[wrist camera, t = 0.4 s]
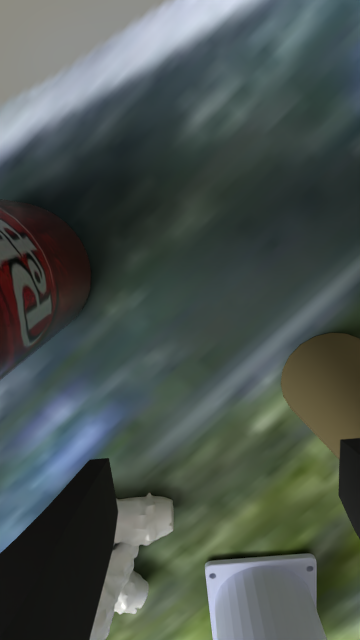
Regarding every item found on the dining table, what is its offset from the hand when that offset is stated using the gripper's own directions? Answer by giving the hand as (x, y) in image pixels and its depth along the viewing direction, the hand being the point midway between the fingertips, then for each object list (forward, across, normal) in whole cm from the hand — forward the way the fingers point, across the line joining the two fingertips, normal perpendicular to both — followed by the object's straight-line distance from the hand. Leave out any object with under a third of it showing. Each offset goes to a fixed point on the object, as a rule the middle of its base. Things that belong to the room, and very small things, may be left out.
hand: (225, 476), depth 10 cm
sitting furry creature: (+10, +8, +13) cm, 19 cm away
